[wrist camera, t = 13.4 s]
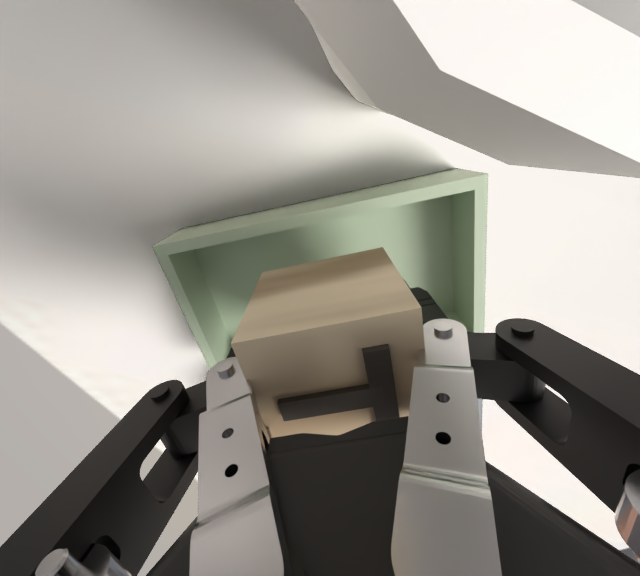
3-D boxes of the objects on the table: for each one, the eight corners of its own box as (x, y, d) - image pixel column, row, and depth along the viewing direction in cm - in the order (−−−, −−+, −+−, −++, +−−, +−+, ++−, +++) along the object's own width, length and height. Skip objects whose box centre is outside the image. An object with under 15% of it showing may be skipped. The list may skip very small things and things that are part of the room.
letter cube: (262, 272, 12) (228, 348, 8) (382, 246, 12) (424, 311, 7) (292, 366, 15) (280, 471, 10) (396, 347, 14) (435, 448, 9)
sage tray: (180, 228, 16) (152, 246, 13) (456, 168, 14) (488, 173, 12) (232, 351, 19) (217, 386, 16) (458, 310, 18) (483, 340, 15)
